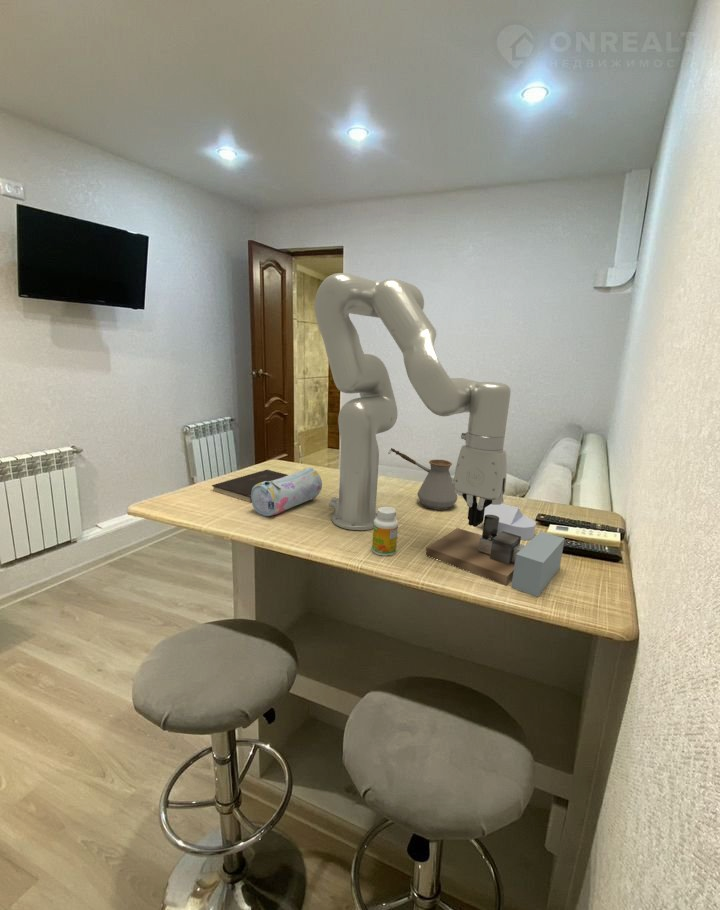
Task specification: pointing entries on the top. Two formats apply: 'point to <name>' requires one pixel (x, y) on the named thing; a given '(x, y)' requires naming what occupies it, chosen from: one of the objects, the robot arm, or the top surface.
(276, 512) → the pencil case
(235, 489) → the hardcover book
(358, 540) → the top surface
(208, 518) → the top surface
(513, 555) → the bolt
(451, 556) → the door panel
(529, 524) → the wedge on round base
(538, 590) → the block
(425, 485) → the coffee pot
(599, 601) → the top surface
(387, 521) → the supplement bottle
